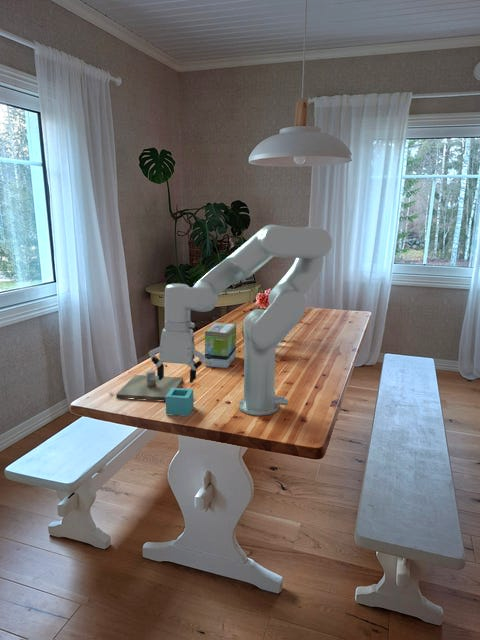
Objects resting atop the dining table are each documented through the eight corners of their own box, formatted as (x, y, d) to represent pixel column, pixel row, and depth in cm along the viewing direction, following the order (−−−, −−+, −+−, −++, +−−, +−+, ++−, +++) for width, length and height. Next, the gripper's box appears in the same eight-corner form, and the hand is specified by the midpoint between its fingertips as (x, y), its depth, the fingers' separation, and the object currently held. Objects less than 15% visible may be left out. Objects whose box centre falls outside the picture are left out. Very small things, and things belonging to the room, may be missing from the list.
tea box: (228, 368, 177) (228, 332, 174) (203, 366, 179) (203, 330, 176) (236, 356, 191) (236, 323, 188) (213, 355, 193) (213, 321, 190)
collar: (193, 406, 142) (193, 389, 141) (188, 416, 136) (188, 398, 134) (172, 405, 143) (171, 387, 142) (166, 414, 137) (165, 396, 135)
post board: (183, 381, 163) (182, 364, 162) (169, 401, 146) (169, 383, 144) (135, 378, 165) (134, 361, 164) (116, 398, 148) (115, 380, 146)
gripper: (208, 324, 136) (206, 378, 140) (152, 320, 137) (152, 373, 141) (203, 331, 128) (201, 386, 132) (145, 326, 130) (145, 381, 134)
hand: (176, 379), depth 137 cm, fingers open, 9 cm apart
